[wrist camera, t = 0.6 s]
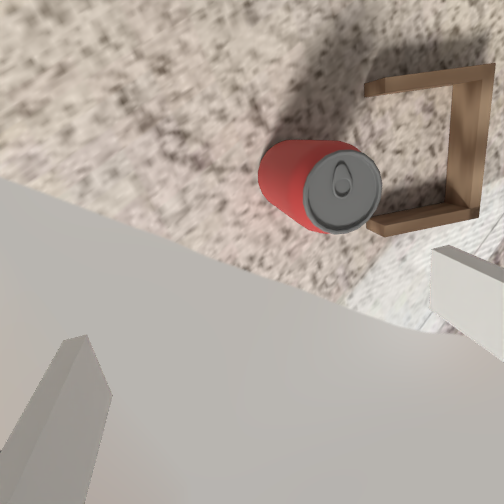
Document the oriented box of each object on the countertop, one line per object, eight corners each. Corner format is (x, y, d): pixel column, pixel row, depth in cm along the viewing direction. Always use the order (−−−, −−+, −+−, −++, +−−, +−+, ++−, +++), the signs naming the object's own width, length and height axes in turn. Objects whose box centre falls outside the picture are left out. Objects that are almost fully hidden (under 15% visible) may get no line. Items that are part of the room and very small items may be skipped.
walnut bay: (364, 83, 31) (385, 77, 28) (464, 70, 33) (495, 62, 30) (366, 228, 36) (384, 237, 33) (453, 210, 38) (478, 217, 35)
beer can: (315, 132, 32) (388, 130, 21) (323, 199, 34) (392, 229, 23) (250, 147, 31) (288, 153, 20) (263, 214, 33) (303, 252, 22)
